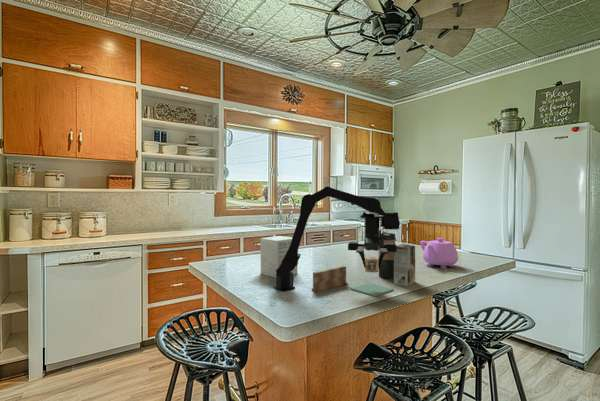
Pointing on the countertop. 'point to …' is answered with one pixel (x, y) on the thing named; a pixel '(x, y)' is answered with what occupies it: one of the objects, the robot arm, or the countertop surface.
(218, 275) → the countertop surface
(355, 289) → the mat
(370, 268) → the letter block
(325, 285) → the screen
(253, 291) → the countertop surface
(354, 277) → the countertop surface
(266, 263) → the supplement box
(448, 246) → the teapot
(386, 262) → the travel mug
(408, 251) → the coffee box
